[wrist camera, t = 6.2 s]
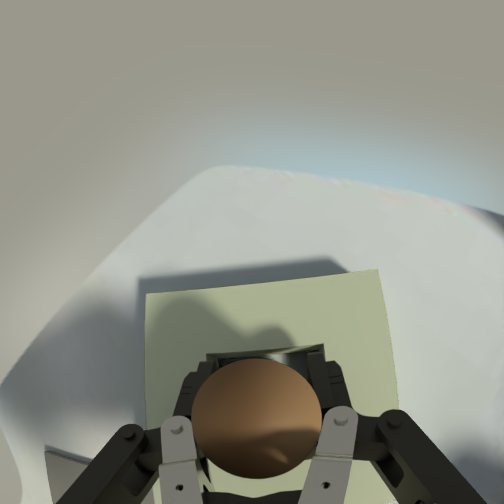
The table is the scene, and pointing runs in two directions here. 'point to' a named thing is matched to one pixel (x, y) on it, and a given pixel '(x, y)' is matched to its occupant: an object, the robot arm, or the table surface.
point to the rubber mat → (70, 475)
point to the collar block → (276, 342)
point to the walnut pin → (256, 418)
